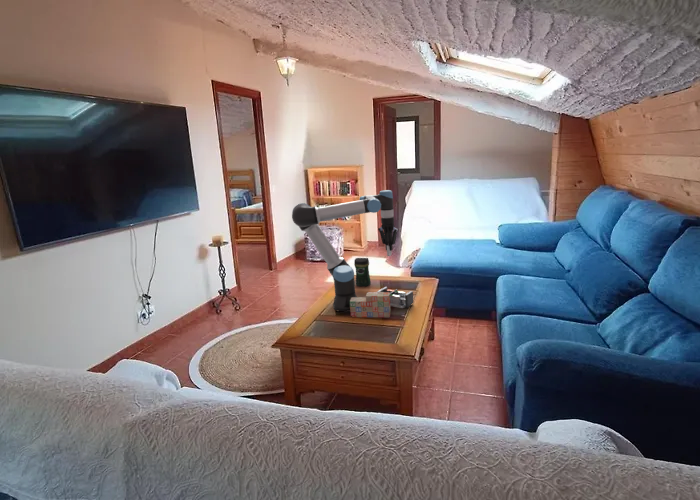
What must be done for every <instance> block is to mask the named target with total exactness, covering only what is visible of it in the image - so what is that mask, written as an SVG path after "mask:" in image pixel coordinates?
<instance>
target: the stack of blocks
mask: <svg viewBox="0 0 700 500" xmlns="http://www.w3.org/2000/svg"><path fill="white" fill-rule="evenodd" d="M351 316H355V317H354V318H390V317H391V306H390V292H377V291H373V292H372V291H370V292H366V295H365V296H363V297H361V296H360V297H358V296H357V297H352V298H351V300H350V317H351Z"/></svg>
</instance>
